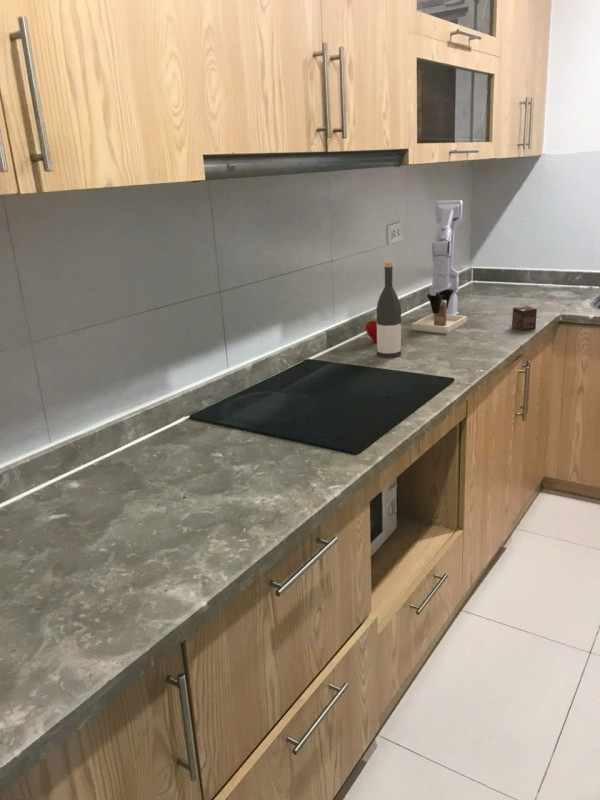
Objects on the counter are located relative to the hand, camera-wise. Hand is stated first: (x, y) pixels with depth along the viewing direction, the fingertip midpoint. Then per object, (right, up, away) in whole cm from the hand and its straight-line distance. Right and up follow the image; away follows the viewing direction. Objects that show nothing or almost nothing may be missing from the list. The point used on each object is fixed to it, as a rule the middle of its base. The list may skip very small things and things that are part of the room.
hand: (440, 311), depth 239 cm
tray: (0, -6, +2) cm, 6 cm away
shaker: (0, -5, +2) cm, 5 cm away
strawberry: (-25, -13, -14) cm, 32 cm away
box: (+29, -7, -6) cm, 30 cm away
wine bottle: (-23, -18, -28) cm, 41 cm away
